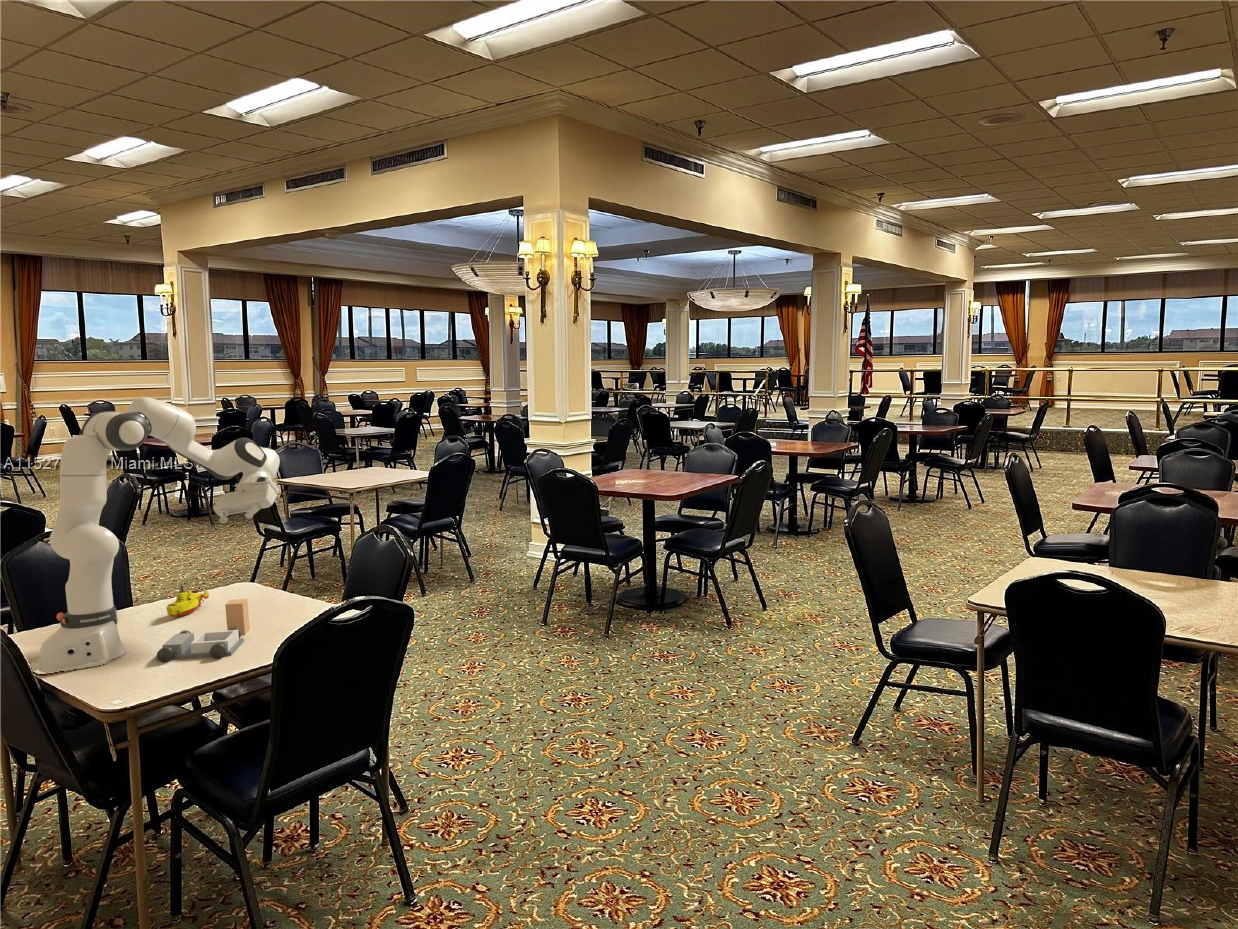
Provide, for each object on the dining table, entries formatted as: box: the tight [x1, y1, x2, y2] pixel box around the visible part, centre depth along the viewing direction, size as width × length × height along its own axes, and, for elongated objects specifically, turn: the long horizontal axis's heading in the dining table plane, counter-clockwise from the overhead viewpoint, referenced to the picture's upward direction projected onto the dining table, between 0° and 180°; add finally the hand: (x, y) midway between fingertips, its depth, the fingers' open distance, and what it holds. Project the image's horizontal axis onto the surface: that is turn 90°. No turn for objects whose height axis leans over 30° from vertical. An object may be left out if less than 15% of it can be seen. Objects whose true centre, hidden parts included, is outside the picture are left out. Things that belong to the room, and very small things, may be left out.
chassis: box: [155, 627, 245, 663], centre depth 240 cm, size 20×16×4 cm
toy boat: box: [165, 585, 210, 617], centre depth 277 cm, size 6×18×10 cm, turn 174°
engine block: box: [224, 598, 251, 636], centre depth 255 cm, size 5×5×10 cm
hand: (235, 519), depth 259 cm, fingers open, 8 cm apart
